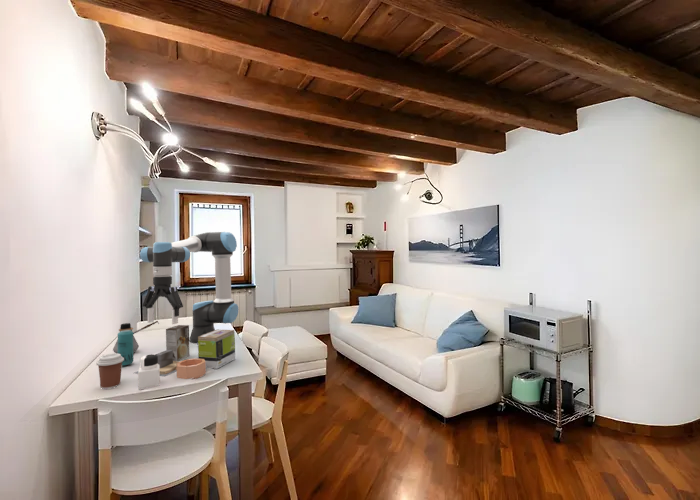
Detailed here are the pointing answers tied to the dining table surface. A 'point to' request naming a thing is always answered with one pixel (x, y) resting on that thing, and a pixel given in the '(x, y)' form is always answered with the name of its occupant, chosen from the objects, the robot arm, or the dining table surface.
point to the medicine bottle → (148, 372)
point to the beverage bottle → (125, 344)
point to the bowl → (191, 368)
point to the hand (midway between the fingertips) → (162, 323)
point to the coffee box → (178, 341)
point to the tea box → (217, 348)
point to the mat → (162, 374)
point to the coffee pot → (133, 338)
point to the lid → (166, 361)
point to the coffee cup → (110, 370)
